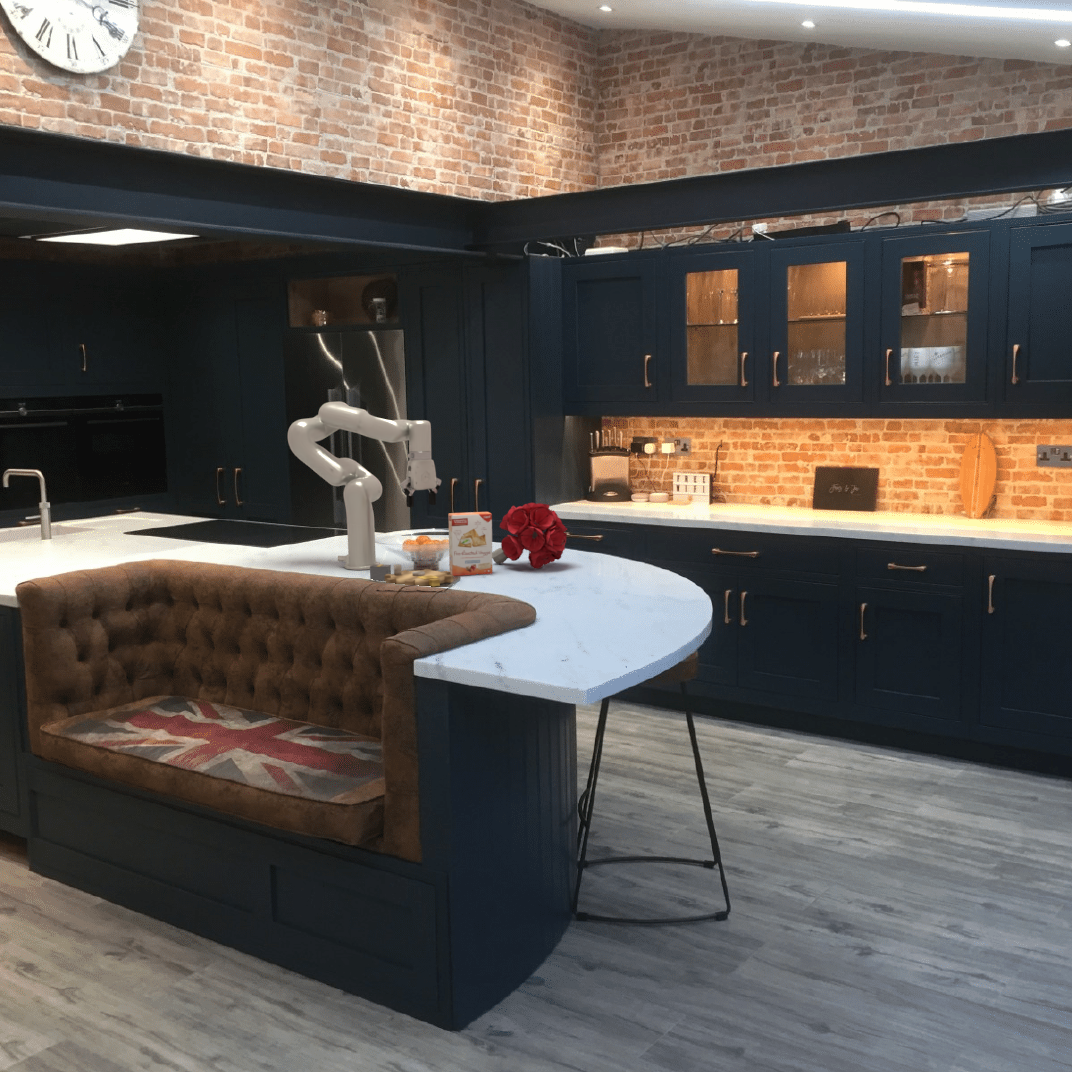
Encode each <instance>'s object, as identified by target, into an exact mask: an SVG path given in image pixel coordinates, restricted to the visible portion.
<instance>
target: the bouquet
mask: <svg viewBox="0 0 1072 1072" xmlns="http://www.w3.org/2000/svg"><path fill="white" fill-rule="evenodd" d="M499 528H501V529H502V530H504V531H505V530H506V531H508V532H509V533H510V534H506V536H505V537H503V538H502V539H501V542H500V546H501V547H499V548H497V549H495V550H494V551H492V561H493V562H494V563H496V564H497V565H502V564H503V563H505V562H506V561H507V560H508V559H510V560H511V561H513V562H515V561H518V560H519V559H520V558H521V556H522V555H523V553H524V550H526V551H528V557H527V558H528V562H529V564H530V566H531V568H532V569H536V570H537V569H541V568H543V567H544V566H546V565H548V564H550V563H553V562H554V563H555V561H556V560H557V561H559V560H560V559H562V555H563V554H564V552H563V551H565V550H566V548H565V545H566V544H567V539H568V538H567V537H568V536H567V534H568V533H567V532H566V531H567V530H568V528H567V527H566V526H565V525H564V524H563V522H562V520H561V518H560V517H559V516H558V514H557V513H556V511H555V510H553V509H550V504H546V503H539V502H538V503H536V502H528V503H525V504H523V505H519V506H517V507H516V506H515V505H512V506H511V508H510V509H509V510H508V511H507V513H506V514H504V515H503V517H502V519H501V522H499Z"/></svg>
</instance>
